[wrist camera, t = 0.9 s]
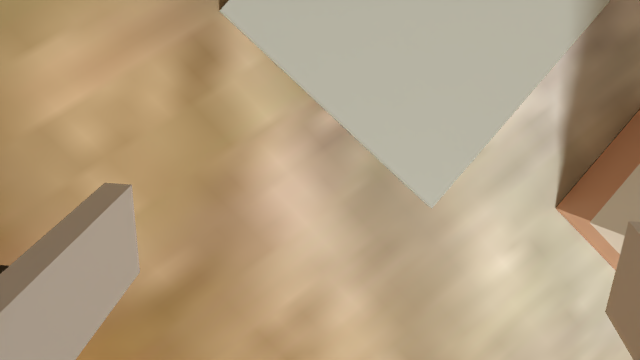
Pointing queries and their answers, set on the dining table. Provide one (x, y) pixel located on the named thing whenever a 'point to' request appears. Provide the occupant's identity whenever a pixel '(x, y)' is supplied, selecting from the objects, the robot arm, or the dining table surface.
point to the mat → (417, 69)
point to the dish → (603, 187)
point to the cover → (620, 211)
